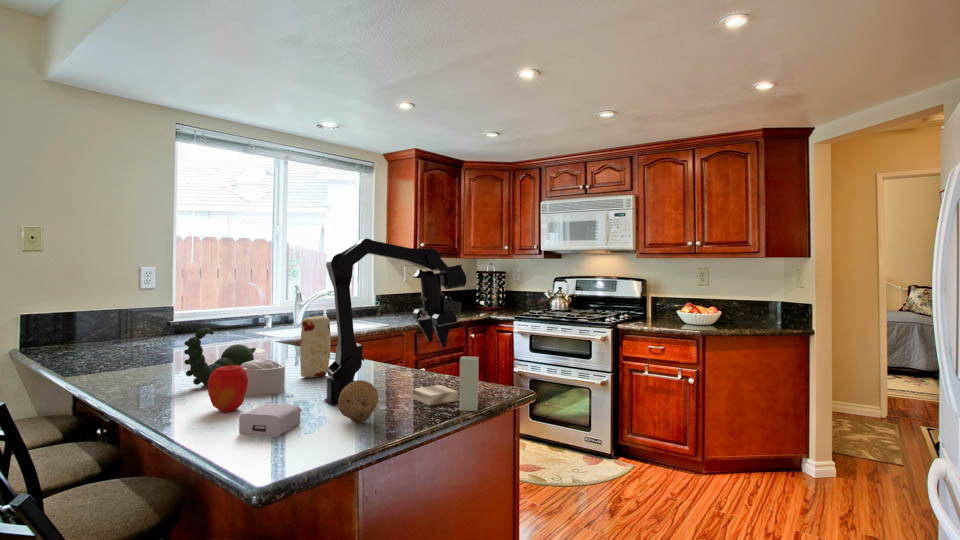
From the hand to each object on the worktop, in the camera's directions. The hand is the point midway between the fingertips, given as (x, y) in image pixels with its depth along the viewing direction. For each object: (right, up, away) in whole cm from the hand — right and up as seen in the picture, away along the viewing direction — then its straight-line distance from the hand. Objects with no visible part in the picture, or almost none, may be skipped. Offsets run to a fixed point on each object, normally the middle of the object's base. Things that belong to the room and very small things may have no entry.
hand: (437, 344), depth 149 cm
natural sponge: (-15, -14, -32) cm, 38 cm away
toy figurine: (-66, -13, +7) cm, 68 cm away
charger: (-33, -14, -34) cm, 50 cm away
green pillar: (+10, -14, -18) cm, 24 cm away
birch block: (0, -14, -9) cm, 17 cm away
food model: (-42, -13, +18) cm, 47 cm away
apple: (-50, -13, -23) cm, 56 cm away
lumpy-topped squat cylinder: (-50, -13, -2) cm, 52 cm away
